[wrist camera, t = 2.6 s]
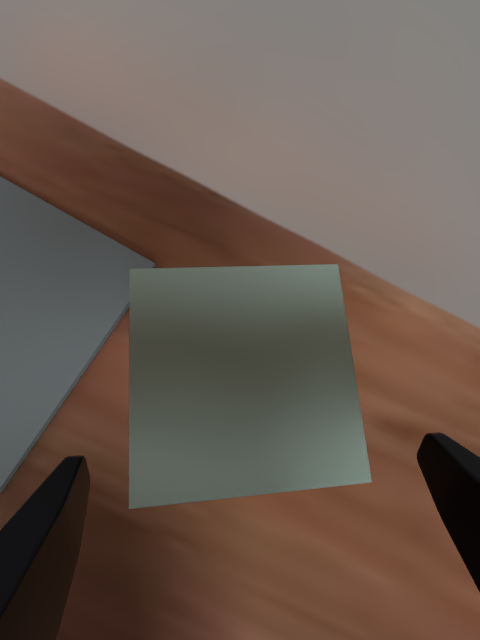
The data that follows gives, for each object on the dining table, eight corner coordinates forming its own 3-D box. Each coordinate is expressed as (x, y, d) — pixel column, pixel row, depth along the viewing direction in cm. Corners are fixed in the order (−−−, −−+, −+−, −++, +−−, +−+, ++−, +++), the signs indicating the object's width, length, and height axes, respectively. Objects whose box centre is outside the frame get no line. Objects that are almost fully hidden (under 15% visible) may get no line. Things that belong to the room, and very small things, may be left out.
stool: (277, 446, 20) (371, 482, 9) (166, 457, 19) (128, 509, 8) (266, 339, 21) (338, 264, 11) (163, 345, 20) (129, 268, 10)
